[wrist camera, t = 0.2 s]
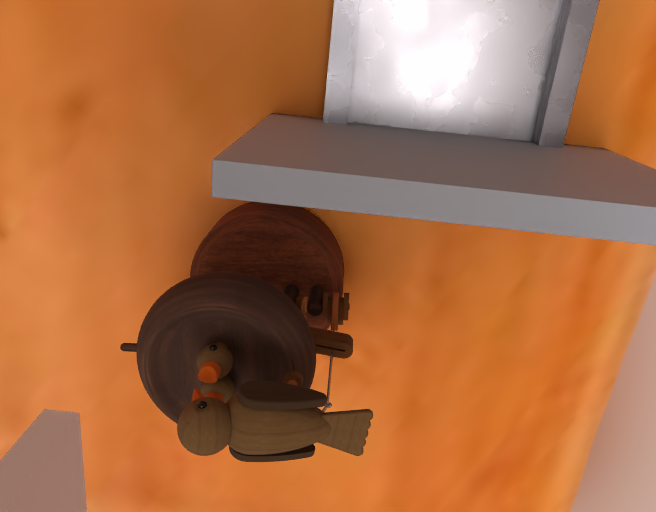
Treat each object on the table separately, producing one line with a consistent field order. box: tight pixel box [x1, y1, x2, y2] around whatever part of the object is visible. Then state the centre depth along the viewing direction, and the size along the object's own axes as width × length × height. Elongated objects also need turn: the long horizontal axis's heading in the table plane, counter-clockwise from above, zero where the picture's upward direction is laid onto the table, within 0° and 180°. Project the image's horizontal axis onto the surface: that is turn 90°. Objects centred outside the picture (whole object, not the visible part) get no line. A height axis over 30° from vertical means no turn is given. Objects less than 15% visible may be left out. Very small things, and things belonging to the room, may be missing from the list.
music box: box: [120, 202, 373, 462], centre depth 32 cm, size 15×11×20 cm
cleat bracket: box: [323, 0, 599, 148], centre depth 33 cm, size 14×15×2 cm
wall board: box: [212, 113, 656, 245], centre depth 30 cm, size 5×22×16 cm, turn 84°
